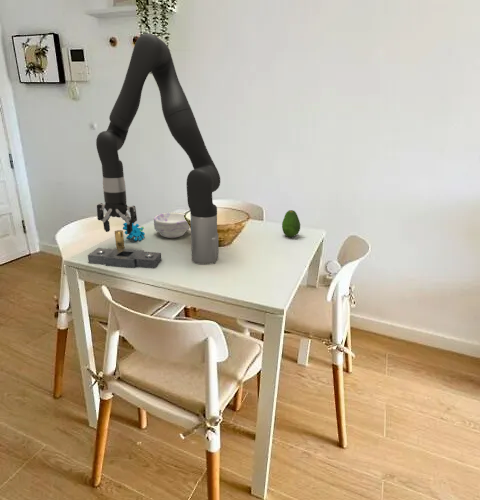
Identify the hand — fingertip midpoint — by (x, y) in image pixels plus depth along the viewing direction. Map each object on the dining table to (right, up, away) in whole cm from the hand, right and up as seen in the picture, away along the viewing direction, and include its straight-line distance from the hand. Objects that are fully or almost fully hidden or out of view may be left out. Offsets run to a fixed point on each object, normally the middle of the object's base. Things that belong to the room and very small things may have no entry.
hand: (118, 232), depth 133 cm
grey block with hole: (+5, -11, -7) cm, 14 cm away
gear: (+2, -2, +15) cm, 16 cm away
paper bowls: (+16, 0, +22) cm, 27 cm away
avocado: (+68, -1, +23) cm, 71 cm away
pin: (0, -7, +2) cm, 8 cm away
